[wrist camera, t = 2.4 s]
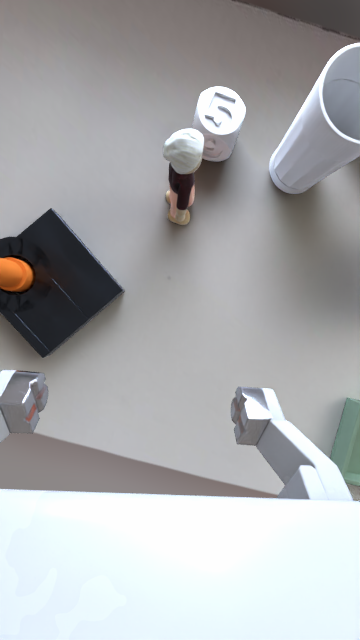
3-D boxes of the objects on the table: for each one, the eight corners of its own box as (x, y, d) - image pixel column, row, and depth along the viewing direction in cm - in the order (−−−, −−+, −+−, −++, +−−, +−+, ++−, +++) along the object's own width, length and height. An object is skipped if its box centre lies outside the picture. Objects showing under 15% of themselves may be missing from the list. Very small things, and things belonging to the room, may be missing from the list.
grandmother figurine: (200, 229, 34) (225, 183, 21) (170, 236, 33) (177, 195, 21) (185, 166, 33) (200, 81, 20) (154, 174, 33) (150, 92, 20)
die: (237, 127, 33) (250, 95, 28) (225, 167, 33) (236, 142, 28) (198, 113, 33) (204, 78, 28) (186, 153, 33) (191, 126, 28)
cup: (255, 190, 34) (307, 127, 22) (272, 126, 34) (334, 27, 22) (314, 208, 34) (396, 157, 23) (331, 146, 34) (423, 61, 22)
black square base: (48, 356, 33) (41, 359, 31) (-29, 272, 32) (-42, 270, 30) (125, 291, 33) (122, 290, 31) (50, 205, 32) (43, 199, 30)
